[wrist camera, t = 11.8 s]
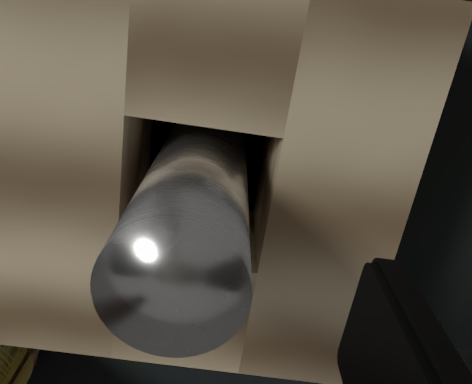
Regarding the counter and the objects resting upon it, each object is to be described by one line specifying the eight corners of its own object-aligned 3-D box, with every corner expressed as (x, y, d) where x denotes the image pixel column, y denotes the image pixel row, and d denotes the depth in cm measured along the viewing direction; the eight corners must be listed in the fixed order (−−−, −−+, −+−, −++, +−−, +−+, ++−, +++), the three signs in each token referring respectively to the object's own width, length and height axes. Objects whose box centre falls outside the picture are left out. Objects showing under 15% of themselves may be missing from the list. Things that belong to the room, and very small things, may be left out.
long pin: (169, 107, 21) (92, 210, 10) (252, 118, 21) (264, 233, 10) (162, 184, 23) (88, 347, 12) (240, 194, 23) (239, 366, 12)
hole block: (41, -54, 19) (-43, -82, 13) (409, 5, 19) (477, 2, 14) (47, 269, 25) (-10, 343, 19) (328, 305, 25) (353, 386, 20)
